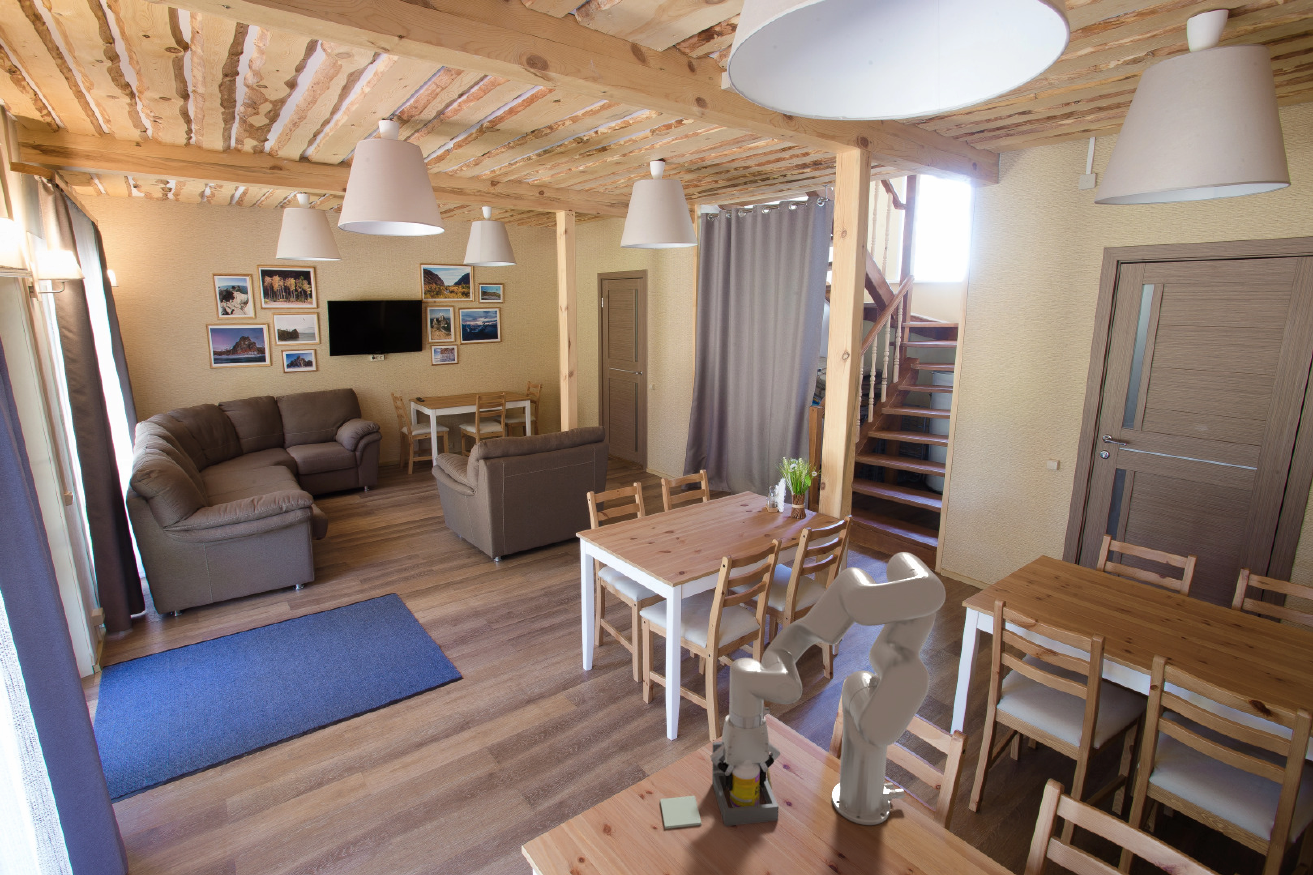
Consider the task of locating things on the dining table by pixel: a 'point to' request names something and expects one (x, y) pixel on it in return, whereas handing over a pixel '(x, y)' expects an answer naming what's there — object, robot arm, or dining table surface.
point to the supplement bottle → (745, 784)
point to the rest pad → (680, 812)
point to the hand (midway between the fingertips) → (744, 784)
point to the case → (748, 812)
